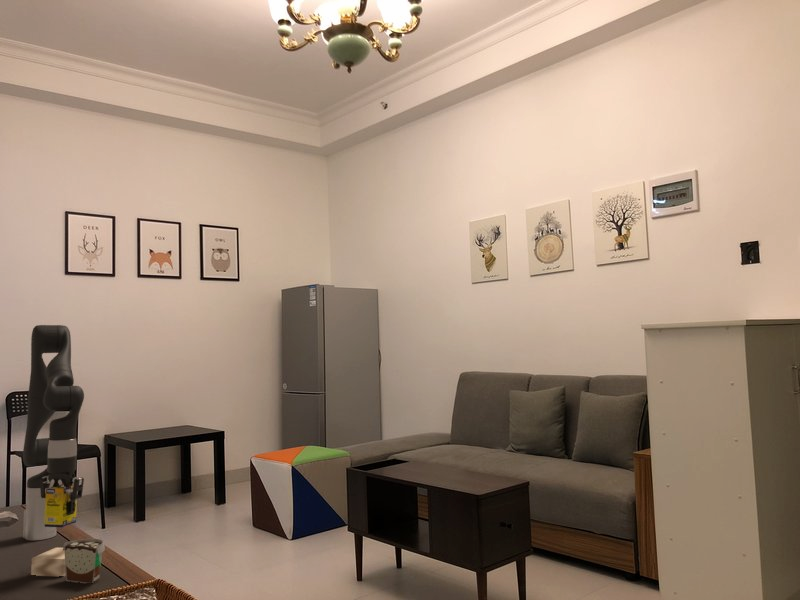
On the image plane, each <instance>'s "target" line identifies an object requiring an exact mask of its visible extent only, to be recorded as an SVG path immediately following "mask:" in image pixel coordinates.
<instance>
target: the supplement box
mask: <svg viewBox="0 0 800 600" xmlns="http://www.w3.org/2000/svg"><path fill="white" fill-rule="evenodd" d="M72 489H73V486H71V487H66V488H61V487H50V488H46V500H45V527H56V528H64V527H66V526H69V525H72V524H76V523H77V503H78V502H77V501H78V499H76V501H75V512H74V514H71V515H67V514H66V506H67V502H68V501H67V494H66V493H65V491H66V490H72ZM70 496H72V493H70Z"/></svg>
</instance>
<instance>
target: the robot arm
mask: <svg viewBox="0 0 800 600" xmlns="http://www.w3.org/2000/svg"><path fill="white" fill-rule="evenodd" d="M30 340H31V343H30V375H29V376H30V377H29V386H28V394H27V396H28V397H27V416H26V418H27V419H26V429H25V437H24V443H23V451H22V461H23V464H24V466H25V467H28V468H31V467H32V468H33V467H42V466H46V468H45V469H44V470H43V471H41V472H39V473H38V474H35V475H33V476H30V477H29V478H28V479H27V481H26V506H25V507H26V508H25V509H23V526H22V527H23V528H22V530H23V532H22V539H25V540H26V541H42V540H48V539H52V538H54V537H55V536H57V527H45V500H46V488H50V487H61V488H66V487H71V486H73V489H72V490H66V491H65V493H66V494H67V501H68V502H67V506H66V514H67V515H71V514H74V512H75V501H76V499H77V500H79V499H81V498H82V497H83V489H84V482H85V477H83V476H81V477H76V474H75V471H76V470H77V463H78V461H77V460H78V458H77V456H78V455H77V454H78V445H77V425H78V419H79V414H80V411H81V408H82V406H83V403H84V399H85V393H84V390H83V388H82V387H81V386H79V385H74V383H75V382H74V381H75V380H74V374H73V370H72V339H71V331H70V329H69V327H68V326H66V325H64V324H63V325H62V324H56V325H55V324H53V325H52V324H51V325H50V324H39V325H38V324H37V325H35V326H34V327H33V328H32V331H31V338H30ZM43 354H56V355H55V356H54V357H53V358H52V359H51V360H50V361H49V363H48V364H47V365H46V363H45V361H44V359H43ZM56 411H68V413H67V415H65V416H63V417H59V418H55V419H52V420H51V421H50V422H49V426H48V427H49V429H48V430H49V433H48V436H49V437H45V438H42V437H41V438H38V435H39V433H40V431H41V430H42V428H43V427H44V426H45V425H46V423H47V422H48V421H49V420H50V419H51V417H53V415H54V414H55V413H56ZM70 493H72V496H70Z"/></svg>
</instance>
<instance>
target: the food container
mask: <svg viewBox="0 0 800 600" xmlns="http://www.w3.org/2000/svg"><path fill="white" fill-rule="evenodd" d="M62 548H63V551H64V550H65V569H66V576H65V581H66V582H70V581H71V582H72V583H78V582H80V584H86V583H95V582H97V581H98V580H99V581H100V576H101V575H100V574H101V567H102V566H101V565H102V557H103V552H104V551H105V550H106V546H105V543H104V541H103V540H102V539H99V538H81V539H75V540H70V541H67V542H64V543H63V547H62ZM99 581H98V582H99ZM71 582H70V583H71ZM98 582H97V583H98ZM95 584H96V583H95Z"/></svg>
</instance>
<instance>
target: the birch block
mask: <svg viewBox="0 0 800 600" xmlns="http://www.w3.org/2000/svg"><path fill="white" fill-rule="evenodd" d="M31 575H36V576H35V577H38V576H39V577H59V576H64V577H66V569H65V550H64V551H63V547H54V548H51V549H49V550H47V551H45V552H42V553H41V554H38V555H36V556H33V557H31V567H30V576H31Z"/></svg>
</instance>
